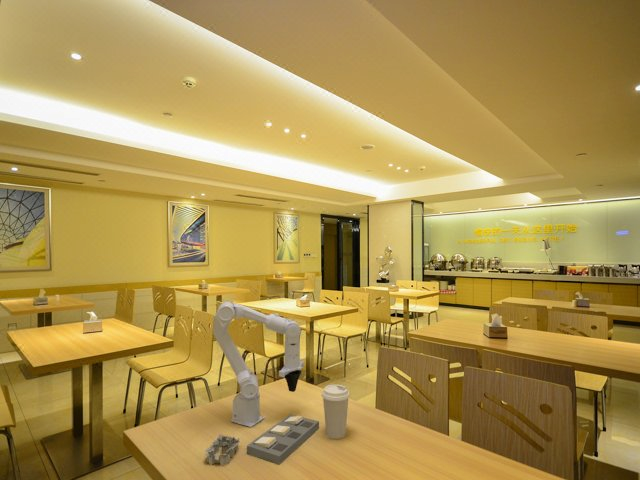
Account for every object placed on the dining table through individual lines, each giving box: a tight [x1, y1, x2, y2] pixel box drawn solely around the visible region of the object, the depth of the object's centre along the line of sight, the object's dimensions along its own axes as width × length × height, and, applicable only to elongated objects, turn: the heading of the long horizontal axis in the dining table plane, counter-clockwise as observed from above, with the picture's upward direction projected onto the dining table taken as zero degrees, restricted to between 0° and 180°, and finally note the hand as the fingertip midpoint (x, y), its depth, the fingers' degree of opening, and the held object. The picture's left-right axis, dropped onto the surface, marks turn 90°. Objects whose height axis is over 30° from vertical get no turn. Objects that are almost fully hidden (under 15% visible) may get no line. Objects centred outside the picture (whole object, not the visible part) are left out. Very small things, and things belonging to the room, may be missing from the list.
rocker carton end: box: [255, 437, 276, 448], centre depth 109 cm, size 5×4×1 cm
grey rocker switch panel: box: [246, 413, 320, 465], centre depth 115 cm, size 12×24×2 cm, turn 152°
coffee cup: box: [321, 384, 351, 440], centre depth 118 cm, size 10×10×15 cm
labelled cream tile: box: [284, 415, 303, 425], centre depth 123 cm, size 5×4×1 cm
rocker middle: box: [270, 425, 290, 436], centre depth 116 cm, size 5×4×1 cm
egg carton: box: [205, 434, 240, 466], centre depth 106 cm, size 11×8×4 cm
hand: (292, 390), depth 131 cm, fingers closed
